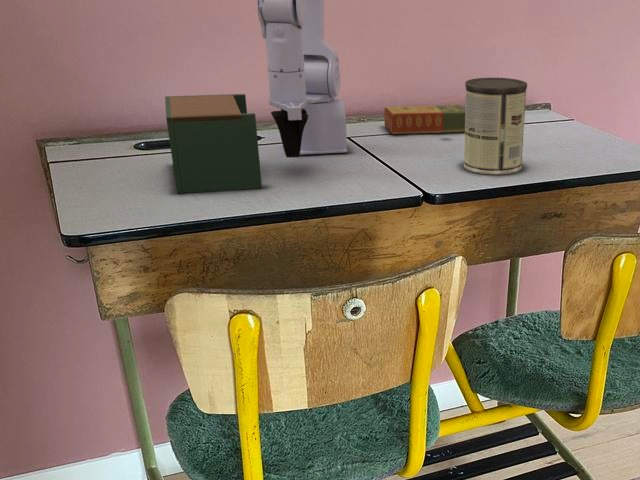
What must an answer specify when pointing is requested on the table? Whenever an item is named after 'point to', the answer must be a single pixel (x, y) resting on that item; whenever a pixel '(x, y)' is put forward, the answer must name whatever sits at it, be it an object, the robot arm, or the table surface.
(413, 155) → the table surface
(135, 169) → the table surface
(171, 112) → the cabinet
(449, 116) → the carton
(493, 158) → the coffee can
